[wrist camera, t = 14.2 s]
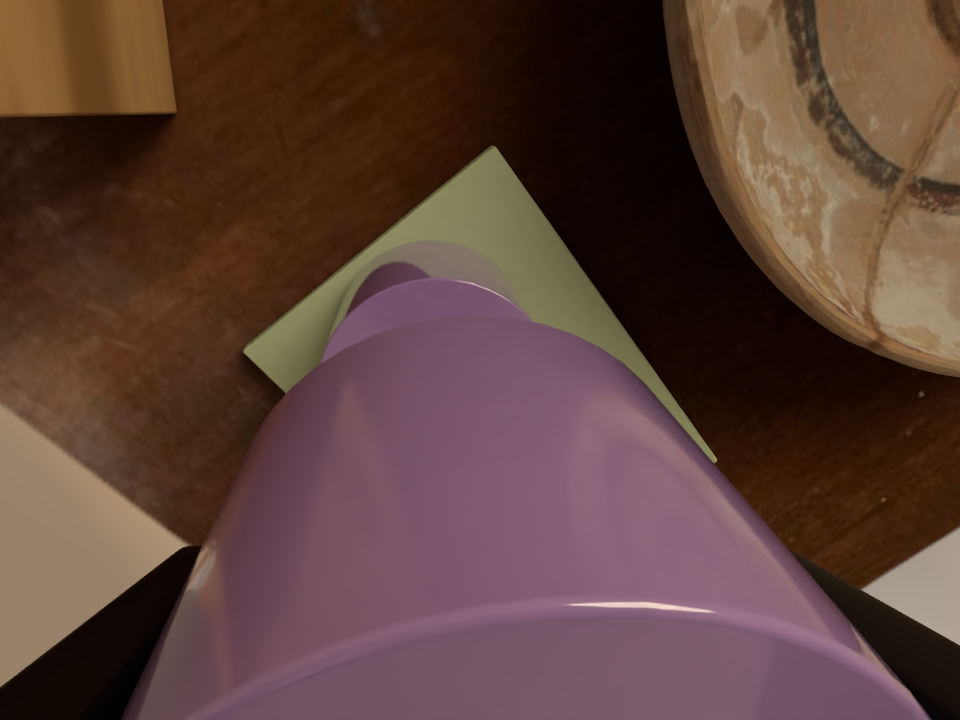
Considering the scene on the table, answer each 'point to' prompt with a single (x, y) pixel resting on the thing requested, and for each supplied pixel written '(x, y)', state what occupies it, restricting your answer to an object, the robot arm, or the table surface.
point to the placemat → (497, 236)
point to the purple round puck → (421, 292)
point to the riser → (84, 58)
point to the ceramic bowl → (835, 156)
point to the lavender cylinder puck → (497, 556)
